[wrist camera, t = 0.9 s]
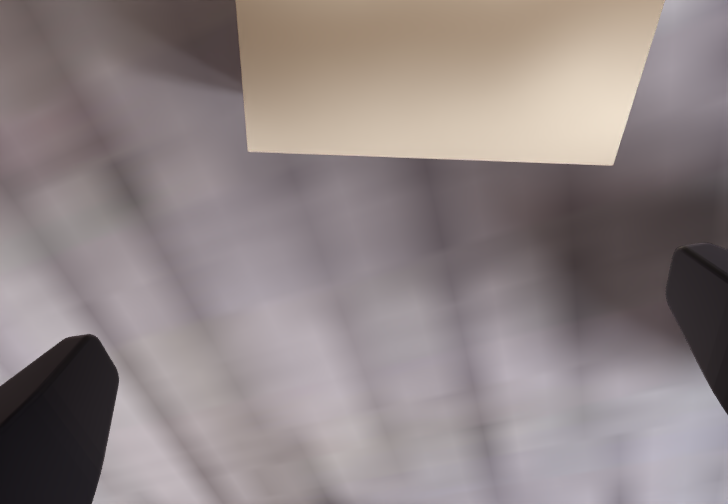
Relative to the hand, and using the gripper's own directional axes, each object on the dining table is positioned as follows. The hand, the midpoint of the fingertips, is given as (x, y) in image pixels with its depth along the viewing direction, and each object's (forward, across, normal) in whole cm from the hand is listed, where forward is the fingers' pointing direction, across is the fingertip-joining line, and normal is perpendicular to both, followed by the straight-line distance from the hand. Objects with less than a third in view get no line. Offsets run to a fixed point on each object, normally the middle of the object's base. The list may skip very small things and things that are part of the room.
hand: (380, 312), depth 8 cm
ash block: (+12, -2, -2) cm, 12 cm away
